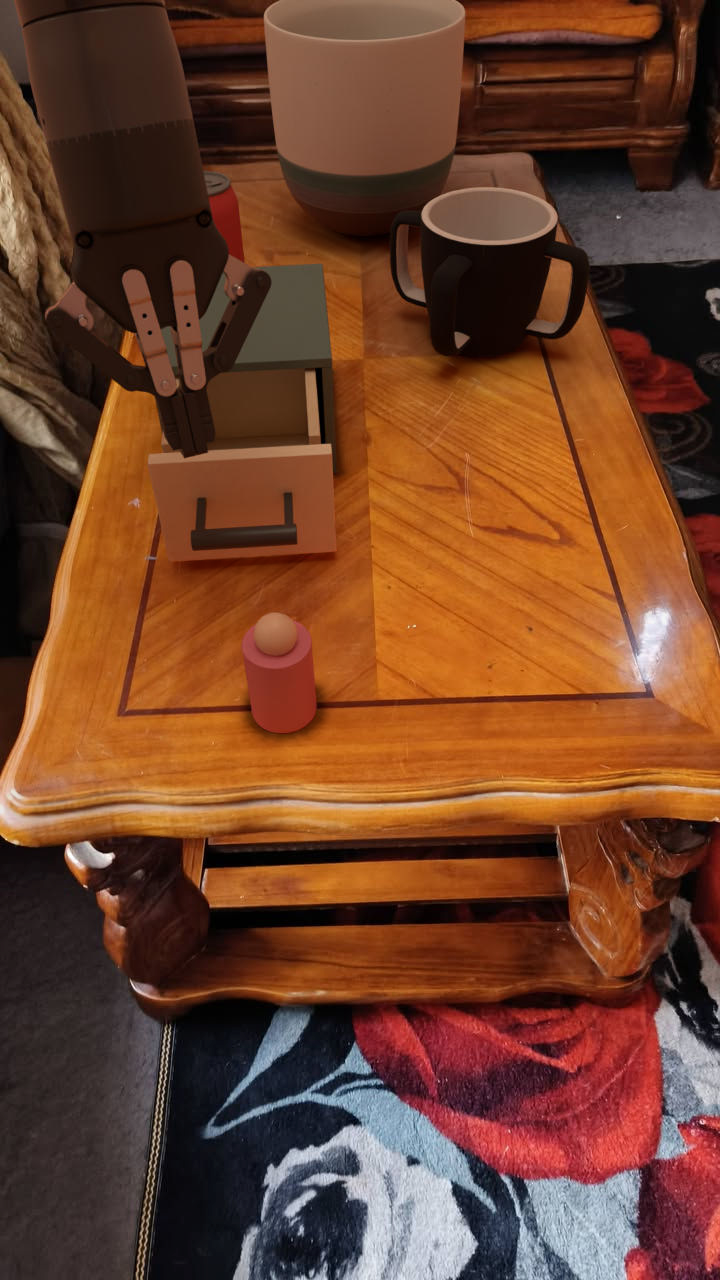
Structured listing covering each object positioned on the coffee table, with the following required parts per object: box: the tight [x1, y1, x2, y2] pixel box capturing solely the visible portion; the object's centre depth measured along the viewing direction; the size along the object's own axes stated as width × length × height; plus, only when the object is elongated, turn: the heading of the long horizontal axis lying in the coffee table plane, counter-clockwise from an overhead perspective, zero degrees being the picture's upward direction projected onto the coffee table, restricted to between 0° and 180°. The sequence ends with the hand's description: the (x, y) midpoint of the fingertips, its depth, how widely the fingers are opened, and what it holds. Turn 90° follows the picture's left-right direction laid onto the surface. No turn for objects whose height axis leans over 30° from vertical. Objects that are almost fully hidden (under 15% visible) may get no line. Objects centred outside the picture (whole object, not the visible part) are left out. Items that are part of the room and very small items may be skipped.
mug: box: [389, 186, 591, 358], centre depth 89 cm, size 16×16×12 cm
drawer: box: [147, 368, 337, 563], centre depth 71 cm, size 19×12×9 cm, turn 4°
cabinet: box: [154, 263, 338, 474], centre depth 80 cm, size 16×14×11 cm
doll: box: [241, 611, 318, 734], centre depth 59 cm, size 4×4×8 cm
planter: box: [263, 0, 466, 237], centre depth 104 cm, size 20×20×21 cm
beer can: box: [203, 170, 246, 264], centre depth 95 cm, size 7×7×12 cm
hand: (194, 452), depth 57 cm, fingers closed
